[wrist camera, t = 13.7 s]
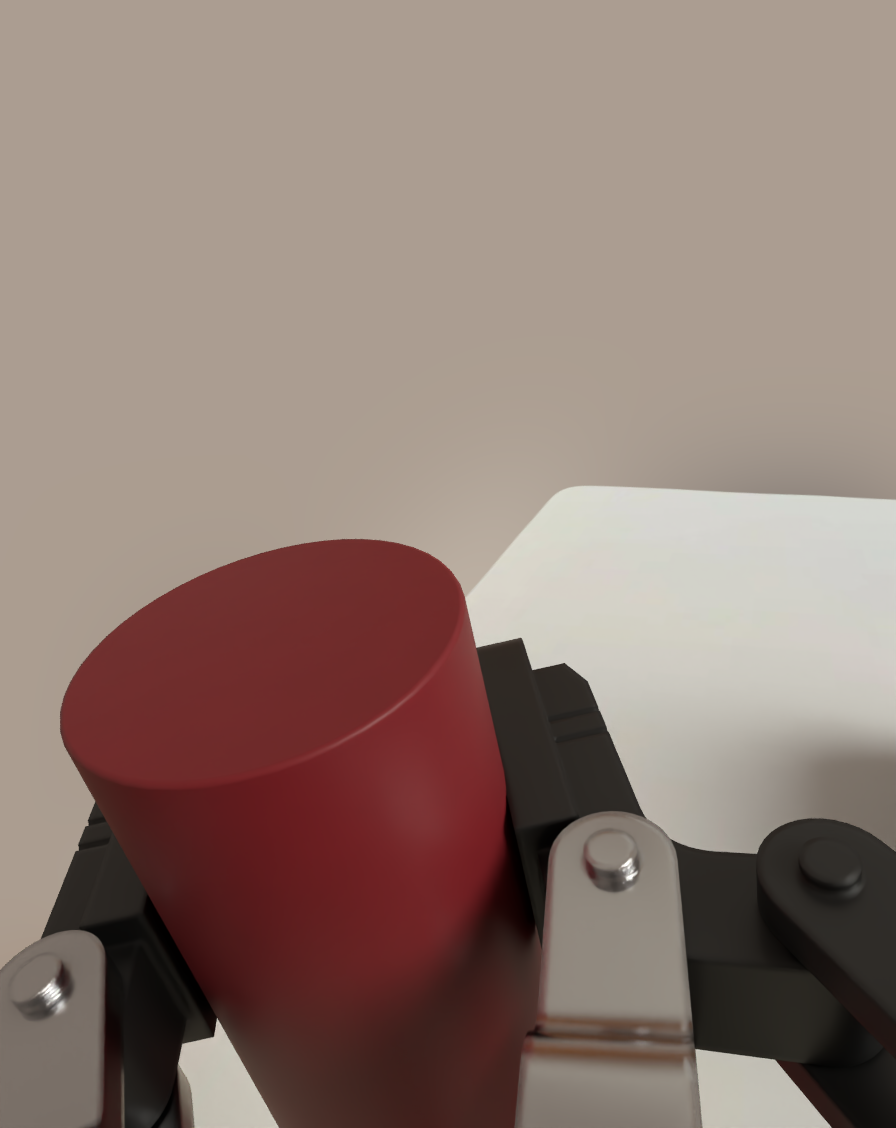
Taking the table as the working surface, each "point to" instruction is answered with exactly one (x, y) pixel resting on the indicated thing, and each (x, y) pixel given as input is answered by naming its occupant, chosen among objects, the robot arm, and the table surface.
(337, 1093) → the candle
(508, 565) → the table surface
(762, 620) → the table surface
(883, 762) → the table surface
